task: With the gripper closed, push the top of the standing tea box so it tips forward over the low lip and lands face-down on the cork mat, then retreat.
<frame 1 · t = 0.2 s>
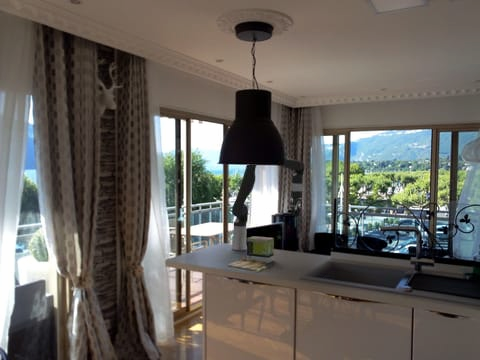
hand: (295, 214, 267), 29 cm above the counter, tool pointing down, fingers open, 8 cm apart
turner: (264, 268, 237), on the counter
tea box: (260, 261, 257), on the counter
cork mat: (247, 265, 243), on the counter
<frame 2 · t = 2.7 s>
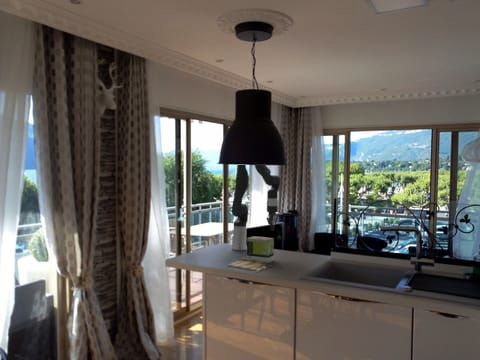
hand: (272, 230, 270), 17 cm above the counter, tool pointing down, fingers closed
nothing on the counter moved.
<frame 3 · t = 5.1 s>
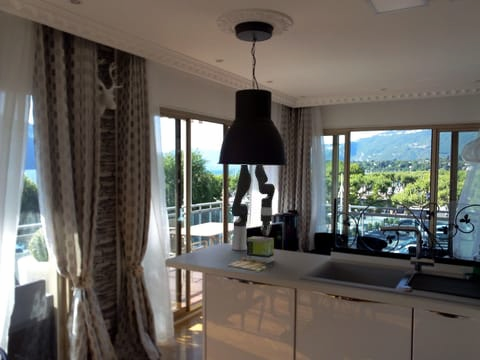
hand: (265, 240, 262), 12 cm above the counter, tool pointing down, fingers closed
tea box: (260, 261, 257), on the counter, touching gripper
everything else where it was.
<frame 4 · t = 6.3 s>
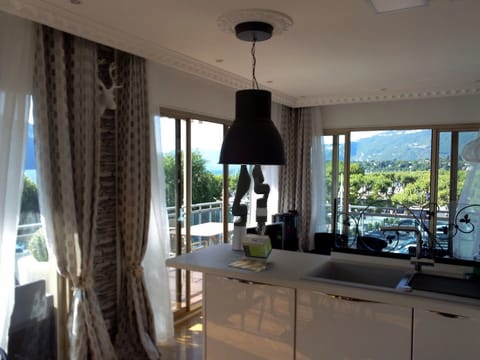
hand: (261, 241, 256), 12 cm above the counter, tool pointing down, fingers closed
tea box: (259, 257, 256), point 2 cm above the counter, touching gripper
everything else where it was.
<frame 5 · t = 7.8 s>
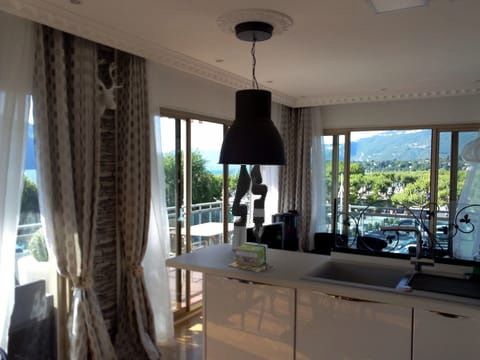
hand: (258, 242, 254), 12 cm above the counter, tool pointing down, fingers closed
tea box: (257, 250, 252), point 7 cm above the counter, touching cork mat
everything else where it was.
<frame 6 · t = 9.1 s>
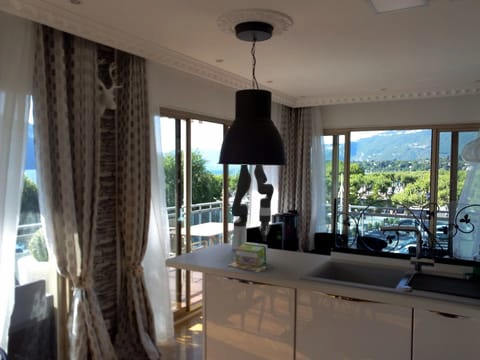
hand: (264, 240, 261), 12 cm above the counter, tool pointing down, fingers closed
nothing on the counter moved.
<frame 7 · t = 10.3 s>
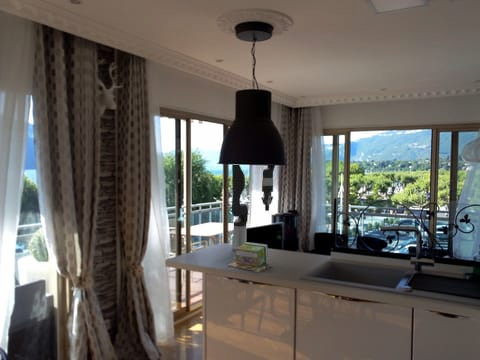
hand: (267, 210, 267), 31 cm above the counter, tool pointing down, fingers closed
nothing on the counter moved.
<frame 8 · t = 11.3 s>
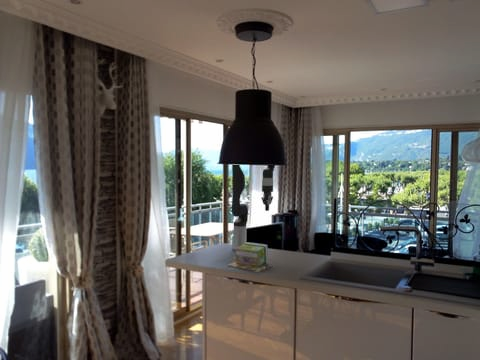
hand: (267, 210, 267), 31 cm above the counter, tool pointing down, fingers closed
nothing on the counter moved.
at the end: tea box tilted 98°; tea box inside the target area (9.2 cm from its centre), point 7.5 cm above the counter; the gripper is holding nothing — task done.
